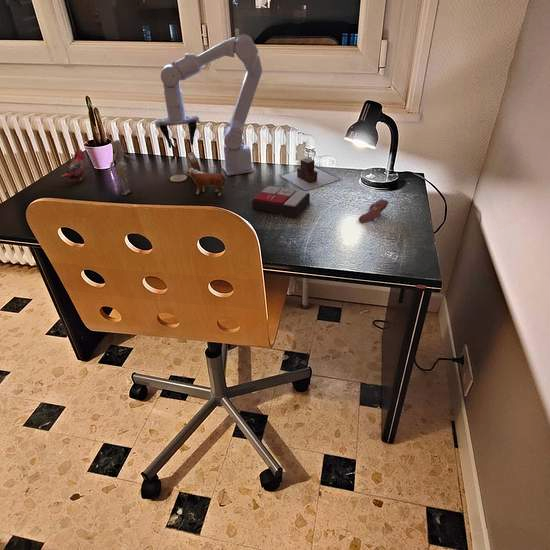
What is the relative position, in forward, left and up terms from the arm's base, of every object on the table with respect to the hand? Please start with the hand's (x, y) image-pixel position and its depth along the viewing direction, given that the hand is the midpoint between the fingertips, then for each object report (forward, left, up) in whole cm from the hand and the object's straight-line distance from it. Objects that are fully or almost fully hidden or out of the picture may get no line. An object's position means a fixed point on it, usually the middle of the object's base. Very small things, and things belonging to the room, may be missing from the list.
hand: (181, 145), depth 148 cm
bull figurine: (-4, +19, -11) cm, 22 cm away
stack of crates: (-41, +20, -11) cm, 47 cm away
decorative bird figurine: (+37, -5, -11) cm, 39 cm away
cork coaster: (+3, +4, -10) cm, 12 cm away
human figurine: (+21, +10, -11) cm, 26 cm away
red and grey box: (-24, +37, -11) cm, 45 cm away
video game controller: (-47, +54, -11) cm, 72 cm away
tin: (-3, +6, -11) cm, 13 cm away
